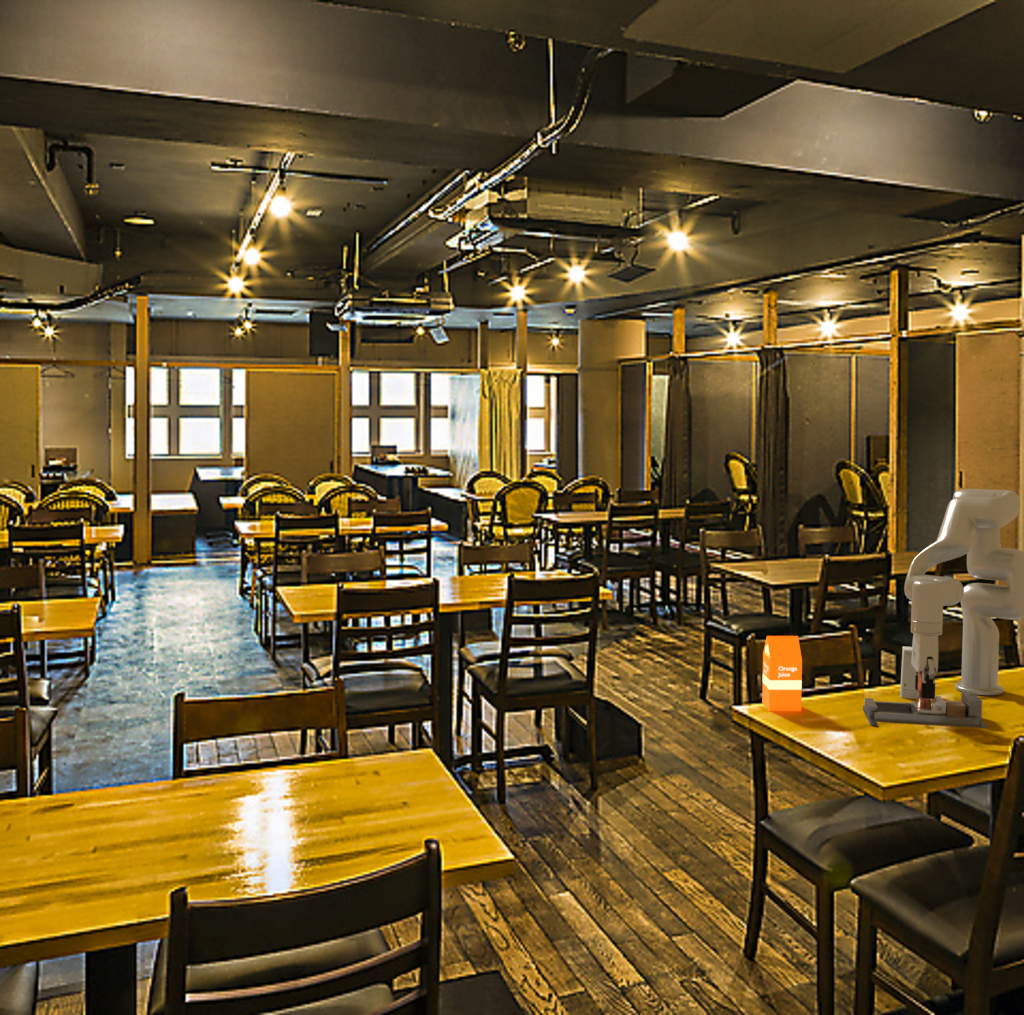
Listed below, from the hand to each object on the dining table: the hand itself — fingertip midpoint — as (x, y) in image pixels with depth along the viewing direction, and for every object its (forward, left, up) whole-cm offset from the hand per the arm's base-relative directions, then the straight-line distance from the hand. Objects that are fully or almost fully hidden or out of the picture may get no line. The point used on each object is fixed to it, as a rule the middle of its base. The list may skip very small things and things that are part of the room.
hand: (924, 693), depth 242 cm
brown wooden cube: (0, +7, -6) cm, 9 cm away
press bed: (0, 0, -7) cm, 7 cm away
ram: (0, +1, -6) cm, 6 cm away
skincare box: (-20, +2, -7) cm, 21 cm away
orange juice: (-5, -36, -8) cm, 37 cm away
